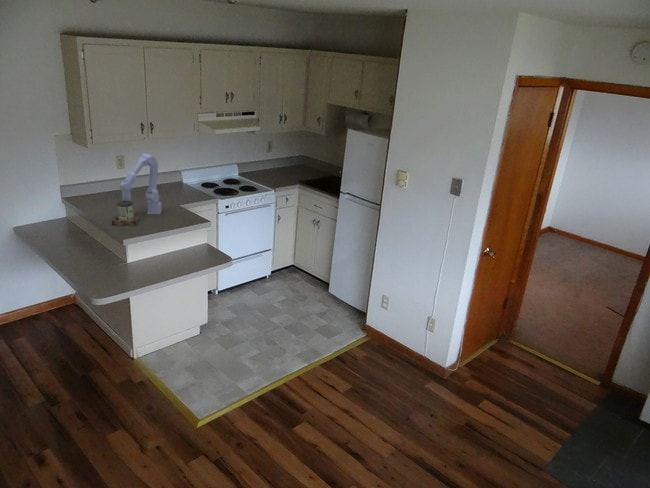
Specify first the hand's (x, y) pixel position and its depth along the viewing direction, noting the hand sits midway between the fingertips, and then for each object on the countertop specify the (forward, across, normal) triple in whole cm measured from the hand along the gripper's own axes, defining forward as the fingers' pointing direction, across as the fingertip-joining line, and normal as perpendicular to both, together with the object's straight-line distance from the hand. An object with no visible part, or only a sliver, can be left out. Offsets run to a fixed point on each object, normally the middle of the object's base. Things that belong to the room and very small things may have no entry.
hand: (128, 216), depth 355 cm
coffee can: (+2, +8, 0) cm, 8 cm away
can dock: (+1, +8, 0) cm, 8 cm away
